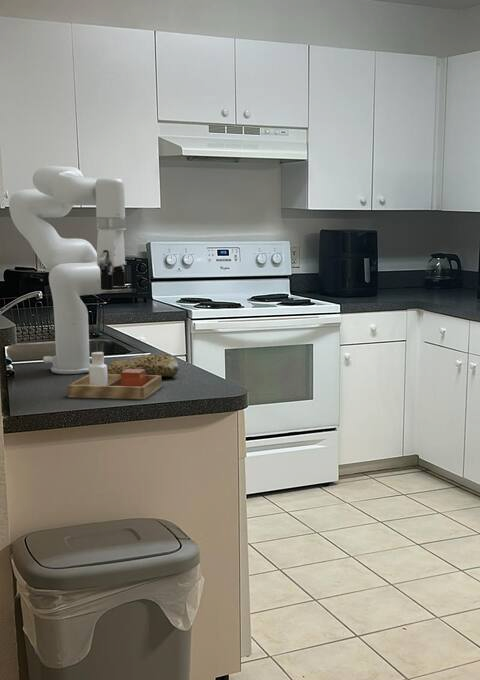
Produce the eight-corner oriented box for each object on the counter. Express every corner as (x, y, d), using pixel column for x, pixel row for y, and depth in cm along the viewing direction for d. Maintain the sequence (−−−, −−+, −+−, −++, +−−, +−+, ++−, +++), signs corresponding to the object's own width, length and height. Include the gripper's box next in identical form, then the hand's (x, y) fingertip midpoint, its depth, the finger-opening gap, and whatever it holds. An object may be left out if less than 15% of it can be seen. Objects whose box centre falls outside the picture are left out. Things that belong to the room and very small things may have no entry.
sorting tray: (67, 397, 230) (67, 385, 230) (90, 384, 246) (89, 373, 246) (144, 399, 229) (144, 387, 228) (161, 386, 245) (161, 375, 244)
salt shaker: (89, 389, 236) (87, 354, 234) (93, 386, 240) (92, 351, 238) (104, 389, 236) (103, 354, 234) (108, 386, 240) (107, 351, 238)
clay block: (121, 391, 235) (120, 372, 234) (127, 387, 240) (126, 368, 239) (140, 391, 234) (139, 372, 234) (145, 387, 239) (145, 369, 238)
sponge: (169, 376, 264) (101, 367, 256) (175, 351, 262) (106, 341, 254) (178, 393, 253) (107, 384, 245) (184, 367, 251) (113, 357, 243)
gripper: (108, 223, 251) (110, 284, 254) (86, 225, 234) (88, 290, 237) (134, 224, 251) (136, 285, 253) (114, 225, 234) (116, 291, 236)
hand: (113, 287), depth 245 cm, fingers open, 9 cm apart
